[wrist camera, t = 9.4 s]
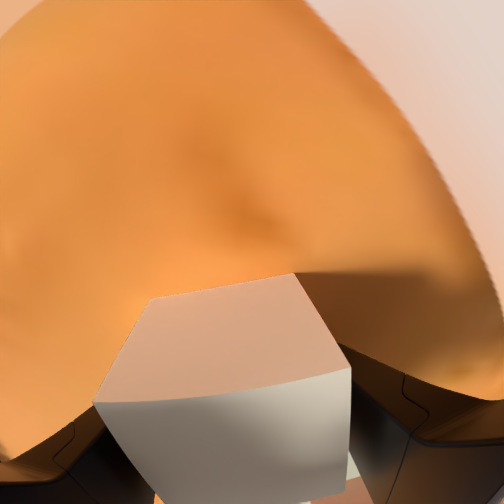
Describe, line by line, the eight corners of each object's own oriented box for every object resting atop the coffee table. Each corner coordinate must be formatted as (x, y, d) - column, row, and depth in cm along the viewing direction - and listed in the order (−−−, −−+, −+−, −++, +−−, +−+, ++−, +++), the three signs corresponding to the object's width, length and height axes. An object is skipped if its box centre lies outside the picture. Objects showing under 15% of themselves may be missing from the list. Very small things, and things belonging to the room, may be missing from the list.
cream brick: (306, 384, 10) (345, 492, 6) (188, 403, 10) (174, 513, 5) (293, 272, 9) (351, 367, 4) (151, 298, 9) (92, 402, 4)
